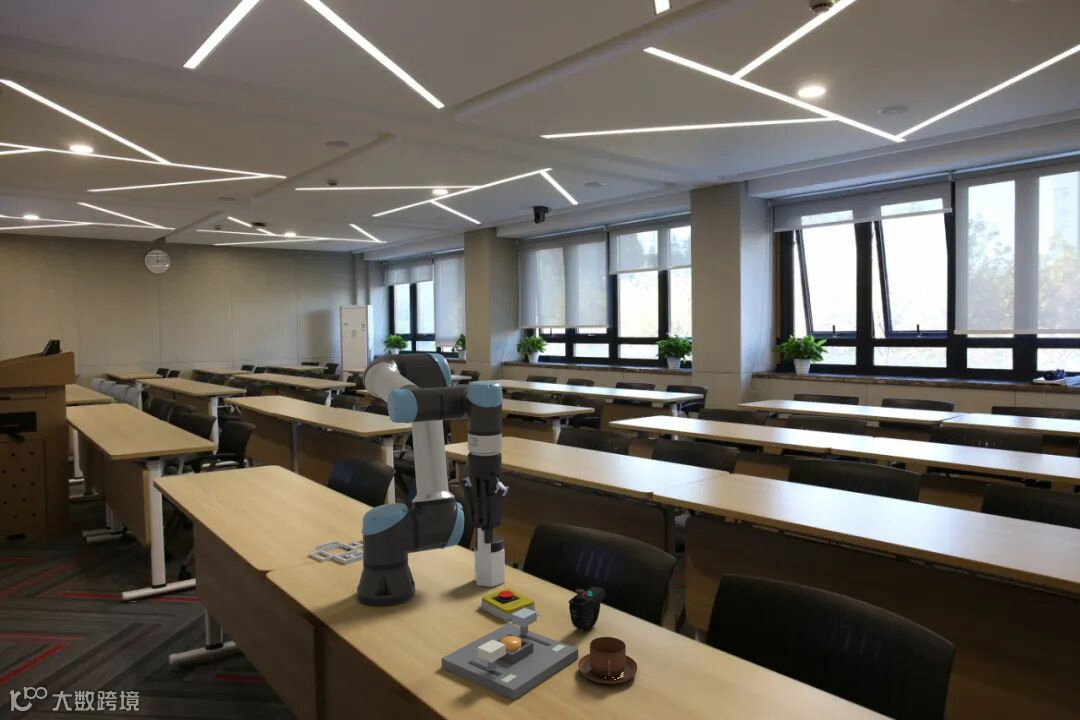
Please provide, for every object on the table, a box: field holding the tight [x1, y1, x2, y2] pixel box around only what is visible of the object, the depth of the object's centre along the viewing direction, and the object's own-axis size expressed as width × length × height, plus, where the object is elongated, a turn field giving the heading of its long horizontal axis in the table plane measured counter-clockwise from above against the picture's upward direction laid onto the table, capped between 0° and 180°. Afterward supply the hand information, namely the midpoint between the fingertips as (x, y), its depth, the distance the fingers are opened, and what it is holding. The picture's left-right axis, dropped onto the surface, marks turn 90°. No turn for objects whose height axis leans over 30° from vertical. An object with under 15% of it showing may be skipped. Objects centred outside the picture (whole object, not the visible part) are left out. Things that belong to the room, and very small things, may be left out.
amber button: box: [500, 636, 521, 652], centre depth 144 cm, size 4×4×2 cm
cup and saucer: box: [577, 636, 638, 685], centre depth 139 cm, size 12×12×6 cm
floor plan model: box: [308, 539, 363, 565], centre depth 212 cm, size 19×25×2 cm
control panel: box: [441, 623, 579, 701], centre depth 144 cm, size 20×21×4 cm
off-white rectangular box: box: [478, 640, 506, 671], centre depth 136 cm, size 4×4×5 cm
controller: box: [567, 586, 607, 632], centre depth 160 cm, size 4×12×10 cm, turn 145°
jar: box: [473, 534, 506, 588], centre depth 190 cm, size 9×8×12 cm
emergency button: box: [477, 588, 541, 625], centre depth 171 cm, size 9×4×15 cm
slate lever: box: [512, 608, 538, 635], centre depth 152 cm, size 4×4×5 cm
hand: (484, 556), depth 152 cm, fingers closed
